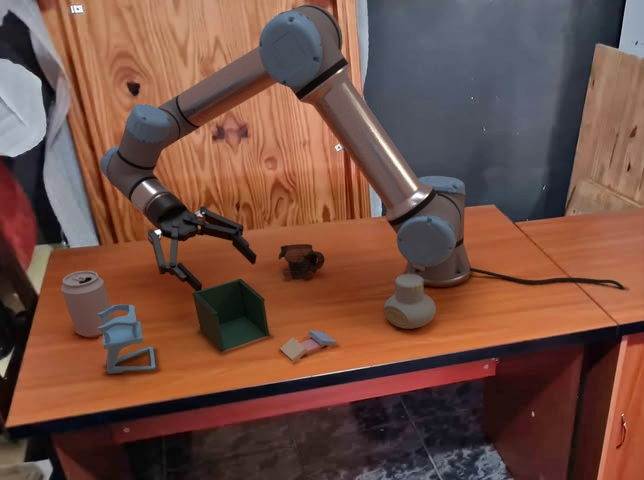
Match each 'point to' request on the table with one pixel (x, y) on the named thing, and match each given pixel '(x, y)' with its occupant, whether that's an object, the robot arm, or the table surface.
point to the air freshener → (409, 303)
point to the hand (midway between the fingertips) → (228, 274)
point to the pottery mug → (301, 260)
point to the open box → (231, 314)
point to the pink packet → (311, 345)
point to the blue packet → (321, 337)
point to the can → (86, 301)
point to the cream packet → (293, 349)
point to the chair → (122, 338)
